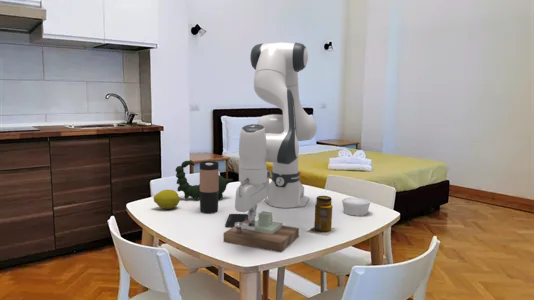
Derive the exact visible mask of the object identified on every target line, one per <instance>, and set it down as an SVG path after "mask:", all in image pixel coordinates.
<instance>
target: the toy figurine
mask: <svg viewBox="0 0 534 300" xmlns="http://www.w3.org/2000/svg"><path fill="white" fill-rule="evenodd" d="M190 165H191V166H193V167H194V166H195V163H194V162H193V161H191V160H185V161H183V162H182V163H181V165H179V166H177V167H176V168H175V169H174V170H175V172H176V173H175V177H176V178H177V180H176V184H177V185H178V187H177V188H176V189H177V192H183V194H184V195H183V196H184V199H185V200H186V199H189V197H190V198H192V199H193V200H194V201H198V200H199V199H200V183H199V184H194V185H191V184H190V183H189V182H188V179H187V177H186V172H185V171H184V169H185V168H186V167H188V166H190ZM233 180H234V179H233V178H224V177H223V176H222V175H220V174H219V195H218V200H221V199H222V198H223V196H224V195H223V193H224V192H225V191H226V190H227V186H228V184H229V183H231V182H232V181H233Z"/></svg>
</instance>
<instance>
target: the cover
mask: <svg viewBox="0 0 534 300" xmlns="http://www.w3.org/2000/svg"><path fill="white" fill-rule="evenodd" d="M255 225H257V229H256V230H250V231H256V232H262V233H268V234H273V233H275V232H276V231H277V230H279V229H280V228H281V227H283V226H284V223H283V222H279V221H273V212H271V211H263V210H262V211H261V212H259V213H258V217H257V220H255ZM247 230H249V229H247Z"/></svg>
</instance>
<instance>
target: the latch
mask: <svg viewBox="0 0 534 300" xmlns="http://www.w3.org/2000/svg"><path fill="white" fill-rule="evenodd" d="M247 214H248V224H245V223H242V222H236V223H235V228H243V229H249V230H256V229H257V225H255V221H256V217H255V211H251V210H250V211H249V210H248V211H247Z"/></svg>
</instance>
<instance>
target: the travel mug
mask: <svg viewBox="0 0 534 300" xmlns="http://www.w3.org/2000/svg"><path fill="white" fill-rule="evenodd" d="M219 166H220V165H219V162H218V161H214V160H212V161H211V160H209V161H208V160H207V161H206V160H205V161H201V162H199V184H200V198H199V210H200V213H202V214H207V215H208V214H210V215H211V214H216V213H218V211H219V199H218V195H219V175H220V174H219V173H220V172H219V171H220V170H219V169H220V168H219Z"/></svg>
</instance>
